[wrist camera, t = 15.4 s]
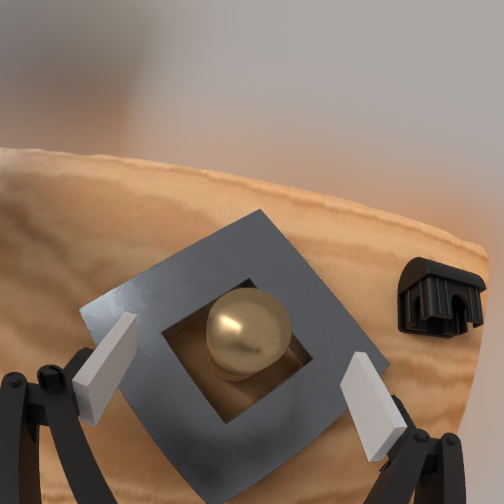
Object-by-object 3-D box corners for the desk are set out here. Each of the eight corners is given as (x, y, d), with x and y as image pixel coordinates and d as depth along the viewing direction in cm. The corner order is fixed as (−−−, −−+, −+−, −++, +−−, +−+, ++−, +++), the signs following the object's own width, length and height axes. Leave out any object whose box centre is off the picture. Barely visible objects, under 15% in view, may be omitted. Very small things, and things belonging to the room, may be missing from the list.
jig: (90, 319, 25) (78, 309, 22) (255, 225, 33) (260, 208, 30) (211, 498, 18) (212, 509, 16) (374, 369, 26) (389, 364, 24)
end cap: (449, 288, 33) (482, 265, 27) (453, 339, 29) (491, 321, 23) (392, 274, 32) (424, 245, 27) (393, 331, 29) (432, 311, 23)
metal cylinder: (195, 347, 25) (189, 315, 17) (240, 318, 27) (257, 273, 19) (228, 392, 24) (241, 386, 15) (272, 360, 26) (307, 336, 17)
